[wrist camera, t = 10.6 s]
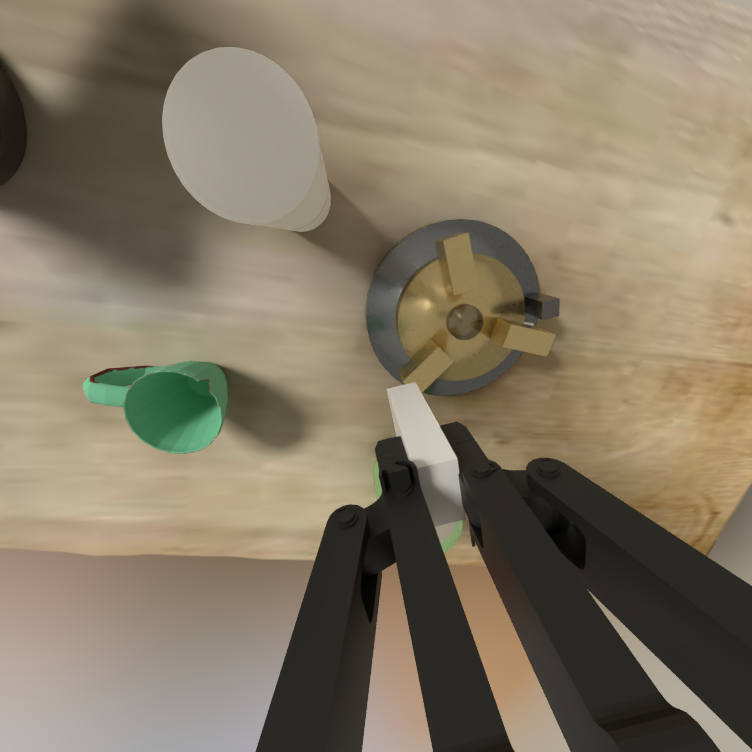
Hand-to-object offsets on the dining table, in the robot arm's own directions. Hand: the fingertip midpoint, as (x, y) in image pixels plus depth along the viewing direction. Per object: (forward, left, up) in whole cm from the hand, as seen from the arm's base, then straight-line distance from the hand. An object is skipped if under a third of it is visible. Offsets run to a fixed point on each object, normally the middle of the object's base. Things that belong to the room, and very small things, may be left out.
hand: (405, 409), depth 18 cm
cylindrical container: (-13, -5, -29) cm, 33 cm away
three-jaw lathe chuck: (+3, +11, -27) cm, 29 cm away
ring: (+3, +11, -29) cm, 31 cm away
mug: (+5, -24, -29) cm, 38 cm away
